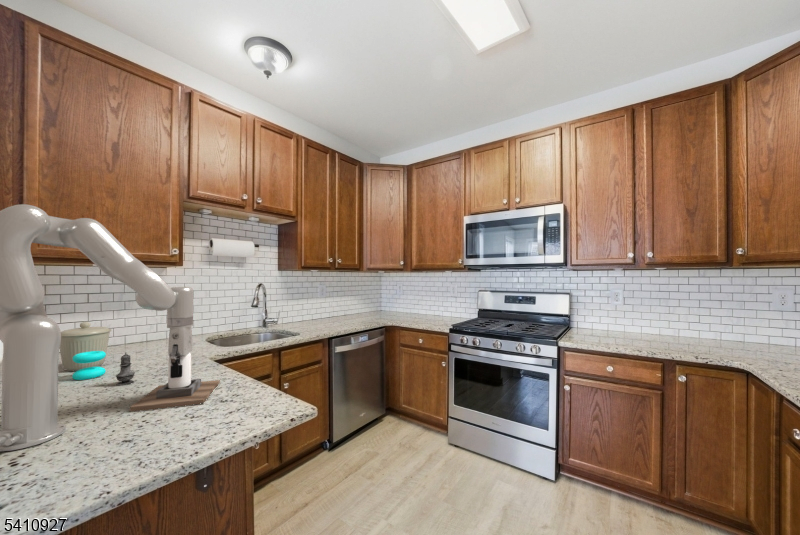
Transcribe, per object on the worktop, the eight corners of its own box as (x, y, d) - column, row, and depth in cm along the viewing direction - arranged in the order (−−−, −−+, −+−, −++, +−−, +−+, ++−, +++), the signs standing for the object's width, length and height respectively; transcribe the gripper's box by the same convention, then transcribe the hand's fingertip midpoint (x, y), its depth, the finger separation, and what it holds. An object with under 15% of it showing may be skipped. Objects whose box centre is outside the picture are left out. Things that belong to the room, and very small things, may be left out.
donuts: (103, 353, 131) (69, 357, 126) (102, 378, 131) (68, 382, 125) (108, 349, 140) (76, 352, 134) (108, 372, 139) (76, 376, 134)
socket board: (203, 404, 103) (203, 391, 103) (129, 411, 98) (129, 398, 98) (219, 384, 122) (219, 373, 123) (159, 389, 117) (159, 378, 117)
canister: (71, 364, 151) (71, 320, 151) (118, 360, 157) (119, 318, 158) (44, 376, 134) (45, 325, 135) (99, 371, 140) (99, 323, 141)
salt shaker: (123, 386, 121) (123, 354, 121) (111, 385, 122) (111, 353, 122) (139, 381, 126) (139, 351, 127) (127, 380, 128) (127, 350, 128)
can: (163, 388, 108) (164, 352, 109) (183, 382, 114) (183, 348, 115) (175, 390, 106) (176, 354, 106) (195, 384, 112) (195, 350, 112)
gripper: (185, 325, 104) (184, 380, 103) (199, 318, 120) (198, 366, 120) (157, 326, 101) (157, 383, 101) (175, 319, 117) (174, 368, 117)
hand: (179, 373), depth 110 cm, fingers closed on can, 6 cm apart
